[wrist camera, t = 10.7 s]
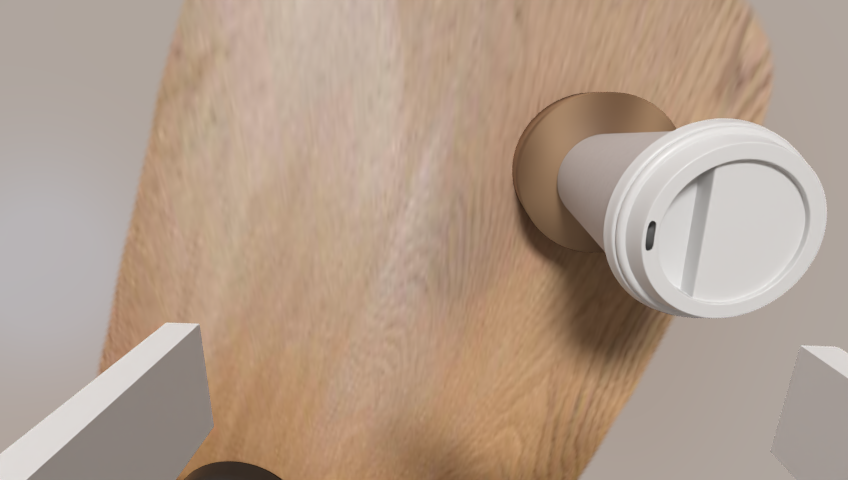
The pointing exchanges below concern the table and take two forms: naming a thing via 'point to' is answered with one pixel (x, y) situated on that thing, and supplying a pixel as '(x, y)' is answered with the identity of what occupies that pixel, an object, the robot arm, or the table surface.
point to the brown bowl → (556, 138)
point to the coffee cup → (698, 214)
